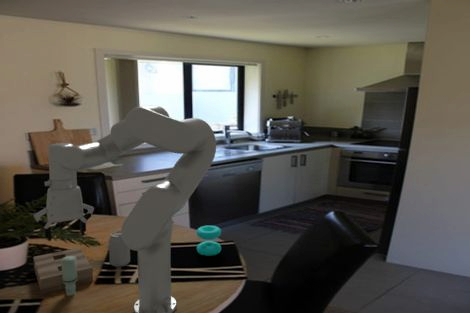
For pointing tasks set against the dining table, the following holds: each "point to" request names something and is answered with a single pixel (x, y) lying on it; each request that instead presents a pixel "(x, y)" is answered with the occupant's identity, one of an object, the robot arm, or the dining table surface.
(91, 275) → the block
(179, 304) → the dining table surface
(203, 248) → the donuts
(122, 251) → the can
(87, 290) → the dining table surface
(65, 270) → the peg
